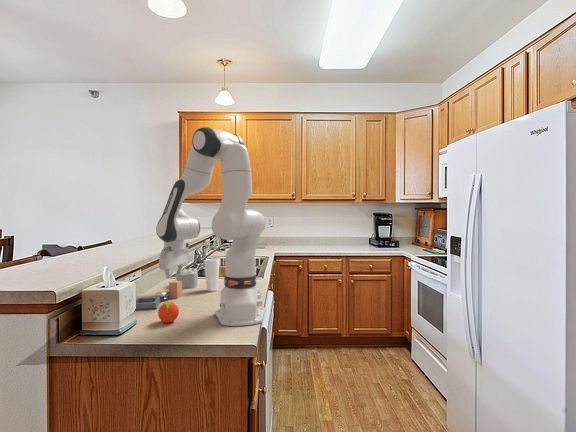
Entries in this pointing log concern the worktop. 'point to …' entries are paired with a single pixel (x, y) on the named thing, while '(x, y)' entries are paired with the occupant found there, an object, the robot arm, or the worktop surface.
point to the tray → (147, 303)
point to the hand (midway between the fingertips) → (174, 276)
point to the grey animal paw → (188, 278)
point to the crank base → (164, 299)
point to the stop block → (175, 289)
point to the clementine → (168, 312)
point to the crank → (162, 294)
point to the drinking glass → (212, 273)
